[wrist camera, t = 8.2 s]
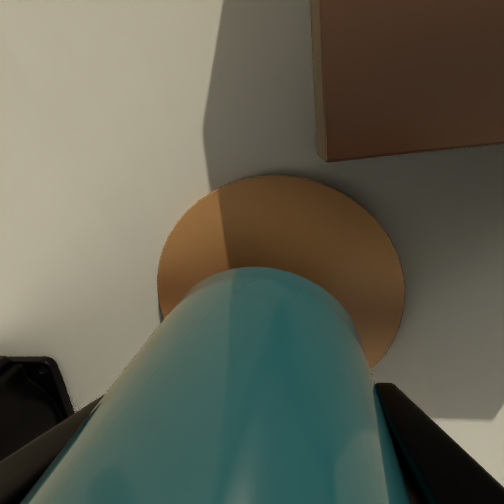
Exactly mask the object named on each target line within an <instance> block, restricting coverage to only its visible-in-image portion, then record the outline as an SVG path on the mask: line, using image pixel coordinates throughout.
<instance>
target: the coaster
mask: <svg viewBox="0 0 504 504" xmlns="http://www.w3.org/2000/svg"><path fill="white" fill-rule="evenodd" d="M243 267H266V268H274V269H279V270H283V271H287V272H291V273H294V274H296V275H299V276H301V277H304V278H306V279H308V280H310V281H312V282H314V283H315V284H317V285H319V286H320V287H322V288H323V289H324V290H326V291H327V292H329V293H330V294H331V295H332V296H333V297H334V298H335V299H336V300H337V301H339V302H340V303H341V305H342V306H343V307H344V308H345V310H346V311H347V312H348V313H349V315H350V316H351V318H352V320H353V321H354V323H355V325H356V327H357V329H358V332H359V334H360V336H361V340H362V343H363V346H364V350H365V353H366V356H367V359H368V363H369V366H370V369H371V368H372V367H374V366H375V365H376V364H377V362H378V361H379V360H380V359H381V358H382V357H383V355H384V354H385V353H386V351H387V350H388V348H389V346H390V345H391V343H392V342H393V340H394V337H395V335H396V333H397V331H398V328H399V326H400V322H401V318H402V314H403V309H404V300H405V288H404V277H403V272H402V267H401V264H400V261H399V258H398V255H397V253H396V250H395V248H394V246H393V244H392V242H391V241H390V239H389V237H388V235H387V234H386V232H385V231H384V230H383V228H382V227H381V226H380V224H379V223H378V222H377V220H376V219H375V218H374V217H373V216H372V215H371V214H370V213H369V212H368V211H367V210H366V209H365V208H364V207H363V206H361V205H360V204H359V203H357V202H356V201H355V200H353V199H352V198H351V197H349V196H348V195H346V194H344V193H342V192H340V191H339V190H337V189H335V188H333V187H331V186H328V185H326V184H323V183H320V182H318V181H315V180H310V179H306V178H302V177H297V176H287V175H262V176H256V177H250V178H245V179H242V180H239V181H235V182H232V183H229V184H227V185H225V186H223V187H221V188H219V189H216V190H214V191H213V192H211V193H209V194H208V195H206V196H205V197H203V198H202V199H200V200H199V201H198V202H197V203H195V204H194V205H193V206H192V207H191V208H190V209H189V210H187V211H186V213H185V214H184V215H183V216H182V217H181V219H180V220H179V221H178V222H177V223H176V225H175V227H174V228H173V230H172V231H171V233H170V235H169V237H168V239H167V241H166V243H165V246H164V248H163V251H162V255H161V258H160V262H159V268H158V276H157V285H158V297H159V304H160V308H161V312H162V315H163V318H164V319H165V317H166V316H167V315H168V314H169V312H170V311H171V310H172V308H173V307H174V306H175V305H176V303H177V302H178V301H179V299H180V298H181V297H182V296H183V295H184V294H185V293H186V292H187V291H188V290H189V289H191V288H192V287H193V286H194V285H196V284H197V283H198V282H200V281H202V280H204V279H206V278H207V277H209V276H212V275H214V274H217V273H219V272H222V271H226V270H230V269H234V268H243Z"/></svg>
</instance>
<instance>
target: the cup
mask: <svg viewBox="0 0 504 504" xmlns="http://www.w3.org/2000/svg"><path fill="white" fill-rule="evenodd" d="M20 504H411V502H410V498H409V495H408V492H407V488H406V485H405V482H404V479H403V475H402V472H401V469H400V465H399V462H398V459H397V455H396V452H395V449H394V445H393V442H392V439H391V436H390V432H389V429H388V426H387V422H386V419H385V416H384V412H383V409H382V406H381V402H380V399H379V396H378V393H377V389H376V386H375V383H374V379H373V376H372V373H371V369H370V366H369V363H368V359H367V356H366V353H365V350H364V346H363V343H362V340H361V336H360V334H359V332H358V329H357V327H356V325H355V323H354V321H353V320H352V318H351V316H350V315H349V313H348V312H347V311H346V310H345V308H344V307H343V306H342V305H341V303H340V302H339V301H337V300H336V299H335V298H334V297H333V296H332V295H331V294H330V293H329V292H327V291H326V290H324V289H323V288H322V287H320V286H319V285H317V284H315V283H314V282H312V281H310V280H308V279H306V278H304V277H301V276H299V275H296V274H294V273H291V272H287V271H283V270H279V269H274V268H266V267H243V268H234V269H230V270H226V271H222V272H219V273H217V274H214V275H212V276H209V277H207V278H206V279H204V280H202V281H200V282H198V283H197V284H196V285H194V286H193V287H192V288H191V289H189V290H188V291H187V292H186V293H185V294H184V295H183V296H182V297H181V298H180V299H179V301H178V302H177V303H176V305H175V306H174V307H173V308H172V310H171V311H170V312H169V314H168V315H167V316H166V317H165V319H164V320H163V321H162V322H161V324H160V325H159V326H158V328H157V329H156V330H155V331H154V333H153V334H152V335H151V336H150V338H149V339H148V340H147V342H146V343H145V344H144V345H143V347H142V348H141V349H140V351H139V352H138V353H137V354H136V356H135V357H134V358H133V359H132V361H131V362H130V363H129V365H128V366H127V367H126V368H125V370H124V371H123V372H122V373H121V375H120V376H119V377H118V379H117V380H116V381H115V382H114V384H113V385H112V386H111V388H110V389H109V390H108V391H107V393H106V394H105V395H104V396H103V398H102V399H101V400H100V402H99V403H98V404H97V405H96V407H95V408H94V409H93V411H92V412H91V413H90V414H89V416H88V417H87V418H86V419H85V421H84V422H83V423H82V425H81V426H80V427H79V428H78V430H77V431H76V432H75V433H74V435H73V436H72V437H71V439H70V440H69V441H68V442H67V444H66V445H65V446H64V448H63V449H62V450H61V451H60V453H59V454H58V455H57V456H56V458H55V459H54V460H53V462H52V463H51V464H50V465H49V467H48V468H47V469H46V470H45V472H44V473H43V474H42V476H41V477H40V478H39V479H38V481H37V482H36V483H35V485H34V486H33V487H32V488H31V490H30V491H29V492H28V493H27V495H26V496H25V497H24V499H23V500H22V501H21V502H20Z"/></svg>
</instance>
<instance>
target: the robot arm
mask: <svg viewBox="0 0 504 504" xmlns="http://www.w3.org/2000/svg"><path fill="white" fill-rule="evenodd" d="M375 386H376V389H377V393H378V396H379V399H380V402H381V406H382V409H383V412H384V416H385V419H386V422H387V426H388V429H389V432H390V436H391V439H392V442H393V445H394V449H395V452H396V455H397V459H398V462H399V465H400V469H401V472H402V475H403V479H404V482H405V485H406V488H407V492H408V495H409V498H410V502H411V504H504V487H503V486H502V485H501V484H500V483H499V482H498V481H496V480H495V479H494V478H493V477H492V476H491V475H490V474H489V473H488V472H487V471H486V470H485V469H484V468H483V467H482V466H480V465H479V464H478V463H477V462H476V461H475V460H474V459H473V458H472V457H471V456H470V455H469V454H468V453H467V452H466V451H465V450H463V449H462V448H461V447H460V446H459V445H458V444H457V443H456V442H455V441H454V440H453V439H452V438H451V437H450V436H449V435H447V434H446V433H445V432H444V431H443V430H442V429H441V428H440V427H439V426H438V425H437V424H436V423H435V422H434V421H433V420H432V419H430V418H429V417H428V416H427V415H426V414H425V413H424V412H423V411H422V410H421V409H420V408H419V407H418V406H417V405H416V404H414V403H413V402H412V401H411V400H410V399H409V398H408V397H407V396H406V395H405V394H404V393H403V392H402V391H401V390H400V389H399V388H397V387H396V386H395V385H394V384H392V383H376V384H375ZM104 395H105V394H104ZM104 395H103V396H104ZM103 396H101V397H100V398H98V399H97V400H95V401H93V402H92V403H90V404H89V405H87V406H86V407H84V408H83V409H81V410H79V411H78V412H76V413H75V414H74V411H73V408H72V406H71V403H70V400H69V397H68V394H67V391H66V388H65V385H64V382H63V379H62V377H61V374H60V371H59V368H58V365H57V363H56V362H55V361H54V360H53V359H52V358H50V357H7V356H0V504H20V502H21V501H22V500H23V499H24V497H25V496H26V495H27V493H28V492H29V491H30V490H31V488H32V487H33V486H34V485H35V483H36V482H37V481H38V479H39V478H40V477H41V476H42V474H43V473H44V472H45V470H46V469H47V468H48V467H49V465H50V464H51V463H52V462H53V460H54V459H55V458H56V456H57V455H58V454H59V453H60V451H61V450H62V449H63V448H64V446H65V445H66V444H67V442H68V441H69V440H70V439H71V437H72V436H73V435H74V433H75V432H76V431H77V430H78V428H79V427H80V426H81V425H82V423H83V422H84V421H85V419H86V418H87V417H88V416H89V414H90V413H91V412H92V411H93V409H94V408H95V407H96V405H97V404H98V403H99V402H100V400H101V399H102V398H103Z"/></svg>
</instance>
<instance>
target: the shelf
mask: <svg viewBox="0 0 504 504" xmlns="http://www.w3.org/2000/svg"><path fill="white" fill-rule="evenodd" d="M310 10H311V31H312V53H313V74H314V95H315V117H316V138H317V154H318V155H319V156H320V157H321V158H323V159H324V160H325V161H326V162H335V161H345V160H355V159H364V158H374V157H383V156H393V155H403V154H412V153H422V152H432V151H441V150H451V149H461V148H470V147H480V146H489V145H499V144H504V0H310Z"/></svg>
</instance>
